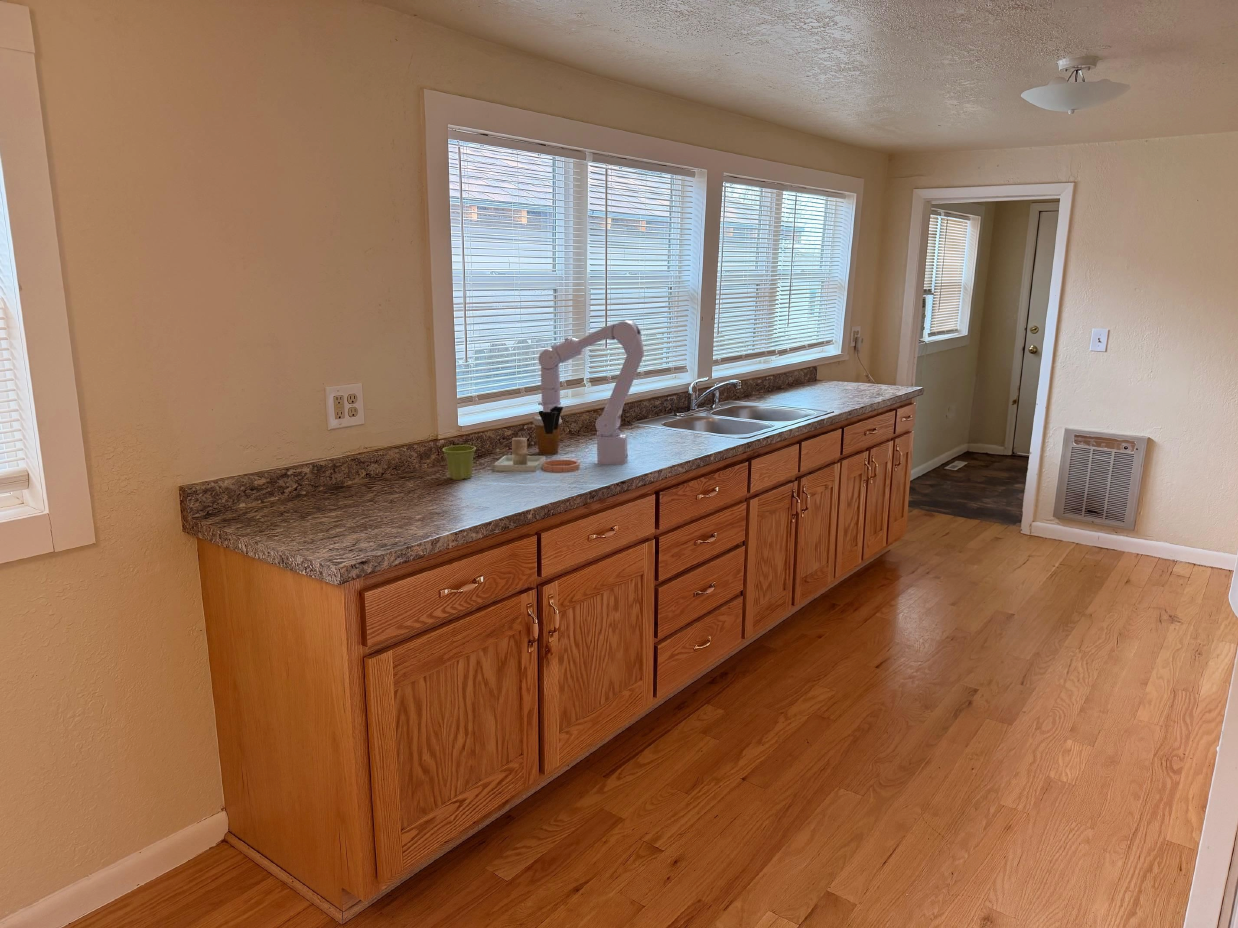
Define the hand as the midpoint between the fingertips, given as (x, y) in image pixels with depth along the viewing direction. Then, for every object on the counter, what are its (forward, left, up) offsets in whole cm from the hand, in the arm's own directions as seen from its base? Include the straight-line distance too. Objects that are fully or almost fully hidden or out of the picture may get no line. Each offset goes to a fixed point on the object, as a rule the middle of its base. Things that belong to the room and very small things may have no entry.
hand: (551, 431), depth 266 cm
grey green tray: (+8, +10, -9) cm, 16 cm away
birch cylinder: (+8, +10, -9) cm, 15 cm away
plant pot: (+22, +25, -10) cm, 35 cm away
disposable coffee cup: (+4, -13, -10) cm, 17 cm away
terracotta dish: (-5, +12, -9) cm, 16 cm away
